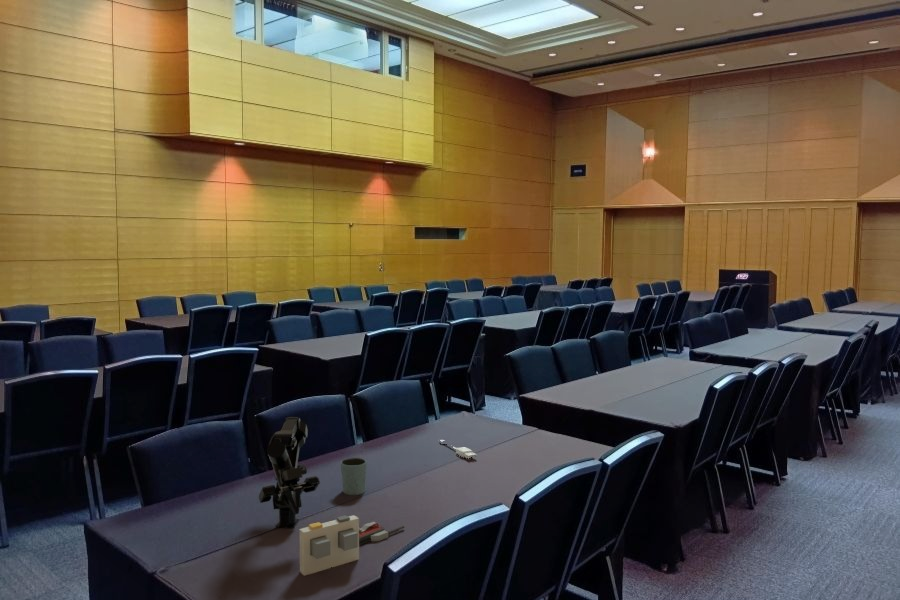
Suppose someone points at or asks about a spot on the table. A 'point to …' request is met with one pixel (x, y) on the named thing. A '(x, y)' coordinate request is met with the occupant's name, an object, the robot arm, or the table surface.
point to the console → (336, 553)
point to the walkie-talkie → (374, 532)
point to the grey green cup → (353, 475)
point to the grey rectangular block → (320, 547)
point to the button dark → (347, 539)
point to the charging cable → (464, 451)
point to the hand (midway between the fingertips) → (297, 513)
